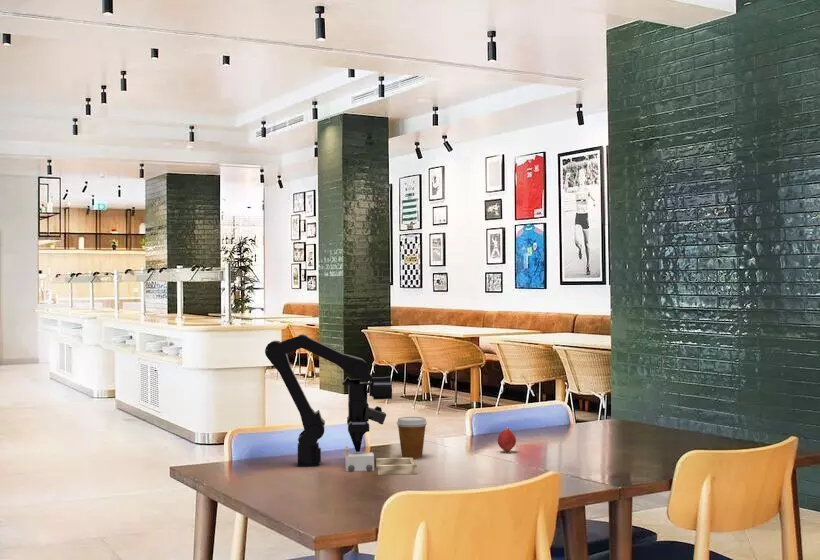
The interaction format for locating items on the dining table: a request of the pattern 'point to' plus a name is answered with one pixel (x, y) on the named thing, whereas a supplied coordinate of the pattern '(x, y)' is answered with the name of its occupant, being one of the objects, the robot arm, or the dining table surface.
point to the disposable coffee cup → (411, 436)
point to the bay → (396, 466)
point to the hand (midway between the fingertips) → (357, 451)
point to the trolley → (359, 461)
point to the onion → (506, 440)
